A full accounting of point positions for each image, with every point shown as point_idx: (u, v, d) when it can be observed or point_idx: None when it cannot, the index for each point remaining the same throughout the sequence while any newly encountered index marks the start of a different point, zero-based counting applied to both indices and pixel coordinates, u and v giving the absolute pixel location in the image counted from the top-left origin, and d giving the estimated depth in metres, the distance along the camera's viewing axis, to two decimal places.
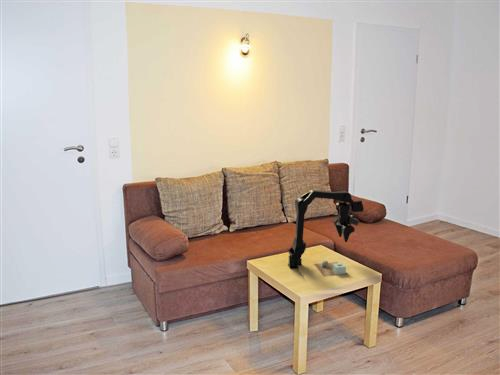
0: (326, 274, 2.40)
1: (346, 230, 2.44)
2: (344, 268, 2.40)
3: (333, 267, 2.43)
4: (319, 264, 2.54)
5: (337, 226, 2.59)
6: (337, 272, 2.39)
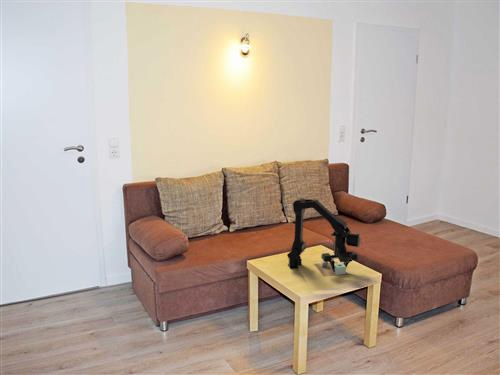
0: (326, 274, 2.40)
1: (321, 256, 2.41)
2: (344, 268, 2.40)
3: None
4: (319, 264, 2.54)
5: None
6: (337, 272, 2.39)
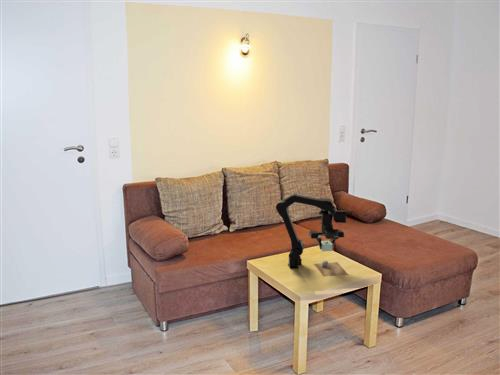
0: (326, 274, 2.40)
1: (309, 234, 2.47)
2: (330, 245, 2.45)
3: None
4: (319, 264, 2.54)
5: None
6: (324, 249, 2.45)
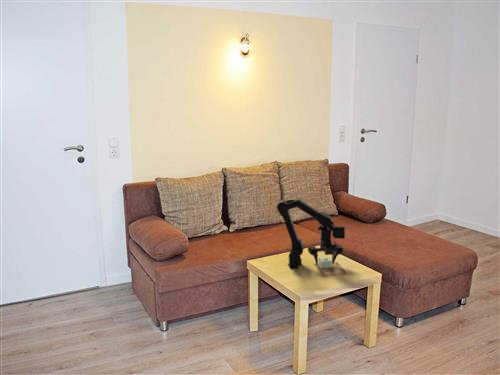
0: (326, 274, 2.40)
1: (308, 249, 2.49)
2: (330, 262, 2.47)
3: (319, 261, 2.51)
4: None
5: None
6: (323, 266, 2.47)
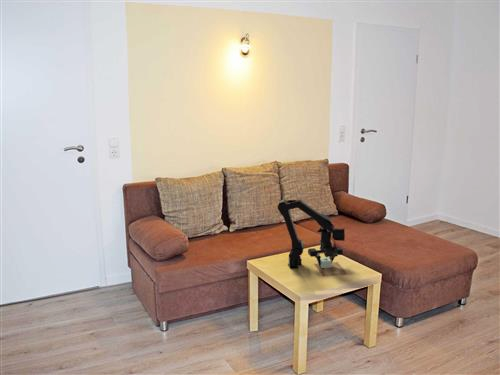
0: (326, 274, 2.40)
1: (308, 251, 2.49)
2: (330, 262, 2.47)
3: None
4: None
5: None
6: (323, 266, 2.47)
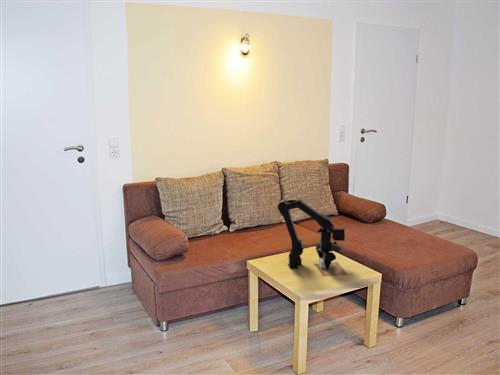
0: (326, 274, 2.40)
1: (327, 258, 2.40)
2: None
3: (324, 263, 2.47)
4: None
5: (319, 252, 2.54)
6: None
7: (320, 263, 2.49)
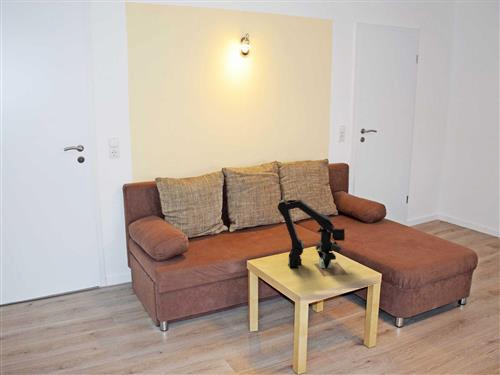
0: (326, 274, 2.40)
1: (327, 258, 2.40)
2: None
3: None
4: None
5: (320, 253, 2.52)
6: None
7: None
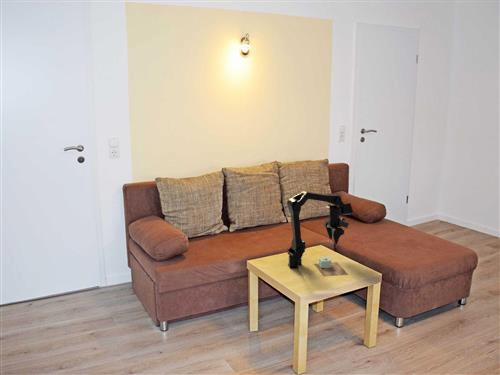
0: (326, 274, 2.40)
1: (336, 232, 2.48)
2: None
3: None
4: None
5: (327, 228, 2.62)
6: None
7: (327, 264, 2.47)
